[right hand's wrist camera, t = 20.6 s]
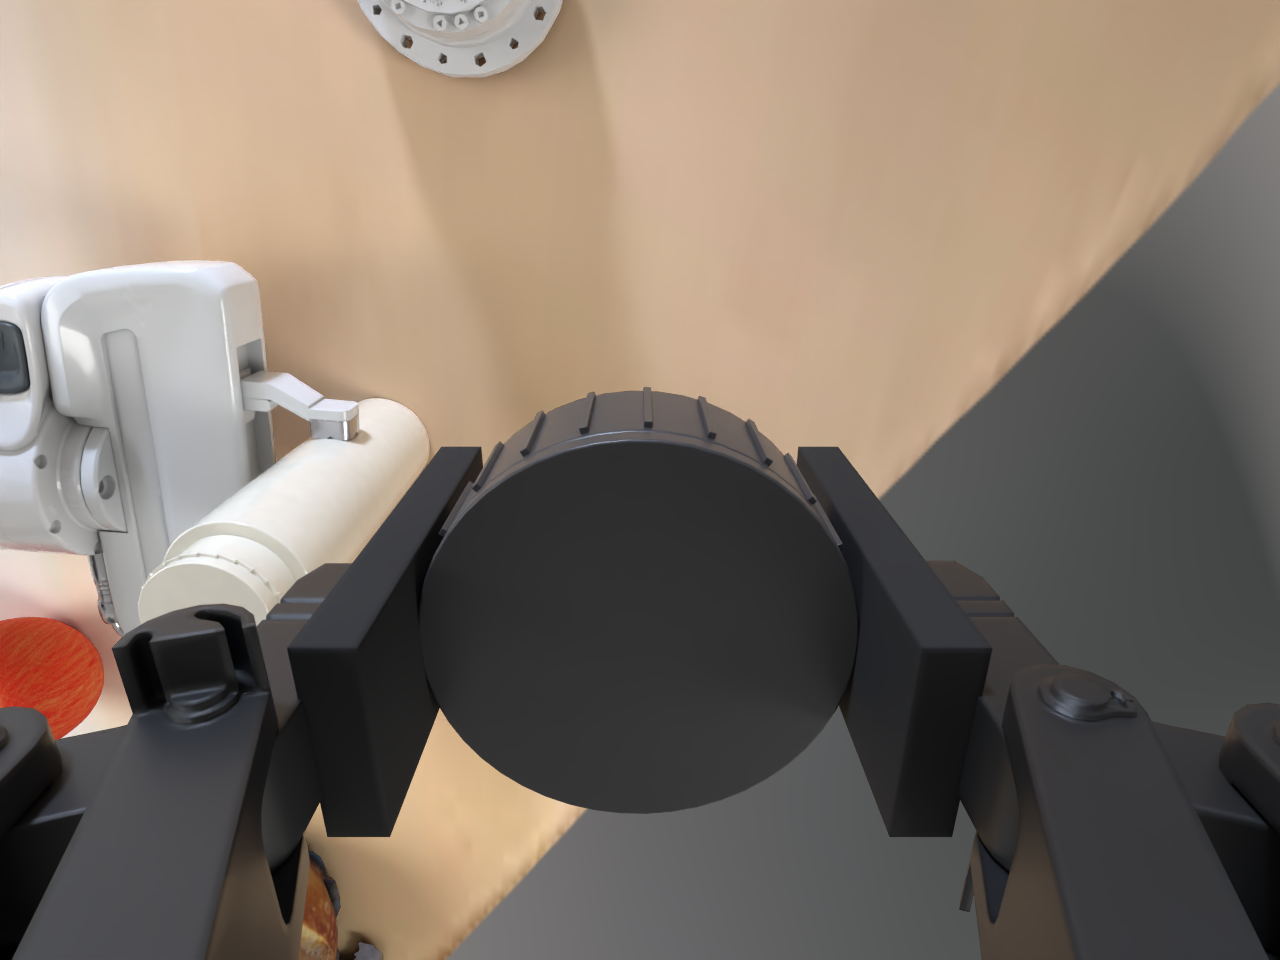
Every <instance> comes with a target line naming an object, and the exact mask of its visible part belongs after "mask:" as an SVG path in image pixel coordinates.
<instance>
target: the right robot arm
mask: <svg viewBox="0 0 1280 960" xmlns="http://www.w3.org/2000/svg"><path fill="white" fill-rule="evenodd" d="M797 467H798V469H799V470H800V472H801V474H802V476H803V477H804V479H805V481H806V483H807V484H808V486H809V488H810V490H811V492H812V493H813V495H815V496H816V498H817V500H818V501H819V503H820V505H821V507H822V508H823V510H824V512H825V514H826V515H827V517H828V519H829V521H830V522H831V524H832V526H833V528H834V529H835V531H836V533H837V535H838V536H839V538H840V540H841V542H842V543H843V546H844V548H845V549H844V550H842V551H841V553H842V555H843V557H844V559H845V561H846V563H847V565H848V568H849V572H850V575H851V578H852V581H853V584H854V588H855V592H856V598H857V605H858V612H859V639H858V646H857V653H856V659H855V665H854V668H853V671H852V674H851V677H850V680H849V683H848V686H847V689H846V691H845V693H844V695H843V697H842V699H841V701H840V703H839V707H840V709H841V712H842V715H843V717H844V720H845V722H846V725H847V728H848V730H849V733H850V735H851V738H852V740H853V743H854V746H855V748H856V751H857V753H858V756H859V759H860V761H861V764H862V766H863V769H864V771H865V774H866V777H867V779H868V782H869V785H870V787H871V790H872V792H873V795H874V797H875V800H876V803H877V805H878V808H879V810H880V813H881V816H882V818H883V821H884V823H885V826H886V829H887V831H888V834H889V836H890V837H952V834H953V830H954V825H955V820H956V816H957V811H958V806H959V802H960V800H961V802H962V804H963V806H964V808H965V809H966V811H967V813H968V815H969V817H970V819H971V821H972V823H973V825H974V827H975V828H976V835H975V839H974V843H973V848H972V852H971V856H970V861H969V865H968V869H967V874H966V878H965V882H964V887H963V891H962V896H961V902H960V910H963V911H967V912H970V908H971V904H972V900H973V896H974V898H975V906H976V915H977V923H978V931H979V940H980V948H981V956H982V960H1280V705H1279V704H1272V703H1261V704H1251V705H1246V706H1244V707H1243V708H1241V709H1240V710H1238V711H1237V712H1235V714H1234V716H1233V719H1232V722H1231V724H1230V727H1229V730H1228V732H1227V735H1226V737H1224V736H1219V735H1214V734H1209V733H1204V732H1199V731H1194V730H1189V729H1184V728H1179V727H1174V726H1169V725H1164V724H1160V723H1156V722H1153V721H1151V719H1150V717H1149V715H1148V713H1147V712H1146V711H1145V710H1144V708H1143V707H1142V706H1141V704H1140V703H1139V702H1138V701H1137V699H1136V698H1135V697H1134V696H1132V695H1131V694H1129V693H1128V692H1127V691H1125V690H1124V689H1122V688H1121V687H1119V686H1118V685H1117V684H1115V683H1113V682H1111V681H1109V680H1107V679H1104V678H1102V677H1100V676H1098V675H1096V674H1093V673H1091V672H1088V671H1085V670H1081V669H1077V668H1073V667H1069V666H1065V665H1060V664H1059V663H1058V662H1057V661H1056V660H1055V659H1054V658H1053V657H1052V655H1051V654H1050V653H1049V652H1048V651H1047V650H1046V649H1045V648H1044V646H1043V645H1042V644H1041V643H1040V642H1039V641H1038V640H1037V638H1036V637H1035V636H1034V635H1033V634H1032V633H1031V632H1030V631H1029V629H1028V628H1027V627H1026V626H1025V625H1024V624H1023V623H1022V621H1021V620H1020V619H1019V618H1018V617H1014V613H1013V611H1012V610H1011V609H1010V608H1009V607H1008V606H1007V604H1006V603H1005V602H1004V601H1000V597H999V595H998V594H997V593H996V592H995V591H994V590H993V589H992V588H991V586H990V585H989V584H988V583H987V582H986V581H985V580H984V579H983V577H981V576H979V575H978V574H976V573H974V572H973V571H971V570H969V569H967V568H966V567H964V566H962V565H961V564H959V563H957V562H956V561H925V559H924V558H923V557H922V556H921V554H920V553H919V552H918V550H917V549H916V548H915V546H914V545H913V544H912V543H911V541H910V540H909V539H908V537H907V536H906V535H905V533H904V532H903V531H902V530H901V528H900V527H899V526H898V524H897V523H896V522H895V521H894V519H893V518H892V517H891V515H890V514H889V513H888V511H887V510H886V509H885V507H884V506H883V505H882V504H881V502H880V501H879V500H878V498H877V497H876V496H875V494H874V493H873V492H872V491H871V489H870V488H869V487H868V485H867V484H866V483H865V481H864V480H863V479H862V478H861V476H860V475H859V474H858V472H857V471H856V470H855V468H854V467H853V466H852V465H851V463H850V462H849V461H848V459H847V458H846V457H845V455H844V454H843V453H842V452H841V450H840V449H839V448H838V447H798V457H797ZM482 469H483V463H482V451H481V447H441V448H440V450H439V451H438V452H437V454H436V455H435V456H434V457H433V459H432V460H431V461H430V463H429V464H428V465H427V467H426V468H425V469H424V470H423V472H422V473H421V474H420V476H419V477H418V478H417V480H416V481H415V482H414V483H413V485H412V486H411V487H410V489H409V490H408V491H407V493H406V494H405V495H404V496H403V498H402V499H401V500H400V502H399V503H398V504H397V506H396V507H395V508H394V509H393V511H392V512H391V513H390V515H389V516H388V517H387V519H386V520H385V521H384V522H383V524H382V525H381V526H380V528H379V529H378V530H377V532H376V533H375V534H374V535H373V537H372V538H371V539H370V541H369V542H368V543H367V545H366V546H365V547H364V548H363V550H362V551H361V552H360V554H359V555H358V556H357V558H356V559H355V560H354V561H353V563H325V564H323V565H322V566H320V567H318V568H317V569H315V570H313V571H311V572H310V573H308V574H306V575H305V576H303V577H301V578H300V579H298V580H297V581H296V582H295V583H294V584H293V585H292V587H291V588H290V589H289V590H288V591H287V592H286V593H285V595H284V596H283V597H282V598H281V599H280V603H277V604H276V605H275V606H274V607H273V608H272V609H271V611H270V612H269V613H268V614H267V615H266V620H262V621H261V622H260V623H259V624H258V625H257V627H256V622H255V618H254V615H253V614H252V613H251V612H249V611H248V610H246V609H245V608H244V607H241V606H235V605H230V604H207V605H197V606H193V607H188V608H184V609H179V610H175V611H172V612H169V613H166V614H164V615H161V616H159V617H156V618H153V619H151V620H148V621H146V622H145V623H143V624H141V625H140V626H138V627H136V628H135V629H133V630H131V631H130V632H128V633H126V634H125V635H124V636H123V637H122V638H121V639H120V640H119V641H118V642H117V643H116V644H115V645H114V647H113V648H112V650H113V654H114V657H115V660H116V663H117V666H118V669H119V672H120V675H121V678H122V681H123V685H124V688H125V691H126V694H127V697H128V700H129V703H130V706H131V709H132V712H133V715H132V717H131V719H130V721H129V723H128V725H125V726H121V727H117V728H112V729H107V730H102V731H97V732H92V733H87V734H82V735H77V736H72V737H67V738H62V739H57V740H55V739H54V737H53V734H52V731H51V729H50V726H49V723H48V721H47V718H46V716H45V715H43V714H42V713H40V712H39V711H37V710H36V709H34V708H26V707H15V706H11V707H5V708H0V960H298V958H299V950H300V942H301V933H302V925H303V917H304V908H305V900H306V892H307V884H308V875H309V867H310V861H309V854H308V848H307V843H306V839H305V835H304V832H305V830H306V828H307V826H308V824H309V822H310V820H311V818H312V816H313V814H314V812H315V810H316V809H317V807H318V805H319V803H320V804H321V809H322V813H323V818H324V823H325V827H326V832H327V837H390V835H391V833H392V830H393V827H394V825H395V822H396V820H397V817H398V815H399V812H400V809H401V807H402V804H403V802H404V799H405V796H406V794H407V791H408V789H409V786H410V783H411V781H412V778H413V776H414V773H415V770H416V768H417V765H418V763H419V760H420V757H421V755H422V752H423V750H424V747H425V744H426V742H427V739H428V737H429V734H430V732H431V729H432V726H433V724H434V721H435V719H436V716H437V713H438V711H439V708H440V707H439V705H438V703H437V702H436V700H435V697H434V695H433V693H432V690H431V688H430V686H429V683H428V681H427V678H426V674H425V668H424V661H423V654H422V646H421V639H420V631H419V621H418V614H419V602H420V598H421V593H422V588H423V584H424V579H425V577H426V574H427V572H428V569H429V566H430V564H431V561H432V558H433V556H434V554H435V552H436V550H437V549H438V547H439V545H440V543H441V542H442V540H443V538H444V537H443V536H441V535H439V533H440V531H441V529H442V527H443V525H444V524H445V522H446V520H447V518H448V517H449V515H450V513H451V512H452V510H453V508H454V506H455V505H456V503H457V501H458V500H459V498H460V496H461V494H462V493H463V491H464V489H465V488H466V486H467V484H468V483H469V481H470V482H472V483H475V481H476V479H477V478H478V476H479V474H480V472H481V470H482Z"/></svg>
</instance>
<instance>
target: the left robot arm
mask: <svg viewBox="0 0 1280 960" xmlns="http://www.w3.org/2000/svg"><path fill="white" fill-rule="evenodd" d="M279 405H280V406H282V407H284V408H285V409H287V410H289V411H291V412H293V413H294V414H296V415H298V416H300V417H302V418H303V419H305V420H307V421H309V422H310V426H311V435H312V438H317V439H327V438H329V437H332V438H333V439H335V440H341V441H343V440H350V439H352V438H354V437H355V434H358V433H360V431H359V404H358V403H357V402H355V401H345V400H334V399H324V396H323V395H321V394H320V393H318V392H317V391H315V390H314V389H312V388H310V387H309V386H307V385H306V384H304V383H303V382H301V381H300V380H298V379H297V378H295V377H294V376H292V375H291V374H289V373H284V372H273V371H267V363H266V352H265V342H264V331H263V321H262V310H261V299H260V289H259V284H258V282H257V280H256V279H255V278H254V277H253V276H251V275H250V274H249V273H248V272H247V271H245V270H244V269H243V268H241V267H240V266H239V265H238V264H236V263H233V262H226V261H209V260H184V261H165V262H154V263H145V264H135V265H126V266H118V267H112V268H106V269H100V270H94V271H87V272H82V273H78V274H74V275H71V276H68V275H66V276H49V277H40V278H34V279H28V280H23V281H18V282H14V283H10V284H6V285H3V286H0V549H7V550H20V551H34V552H46V553H60V554H73V555H87V556H88V561H89V565H90V570H91V574H92V578H93V581H94V583H95V586H96V588H97V593H98V598H99V599H98V609H99V613H100V615H101V618H102V620H103V621H104V623H106V624H112V626H113V628H114V629H115V630H116V632H117V633H118V634H119V635H120V636H121V637H123V636H124V635H125V634H126V633H128V632H130V631H131V630H133V629H135V628H136V627H138V626H140V625H141V623H140V621H139V614H138V604H137V603H138V602H139V597H140V590H141V587H142V586H143V585H144V583H145V581H146V579H147V577H148V576H149V574H150V573H151V572H153V571H154V570H155V569H156V568H157V567H159V566H160V565H161V564H162V563H163V561H164V557H165V554H166V552H167V550H168V548H169V547H170V545H171V544H172V542H173V541H174V540H175V539H176V538H177V537H178V536H179V535H180V534H182V533H183V532H184V531H186V530H187V529H188V528H190V527H191V526H192V525H194V524H195V523H196V522H198V521H199V520H200V519H202V518H203V517H204V516H206V515H207V514H208V513H210V512H211V511H212V510H213V509H215V508H216V507H217V506H219V505H220V504H221V503H223V502H224V501H225V500H227V499H228V498H229V497H231V496H232V495H233V494H235V493H236V492H237V491H239V490H240V489H241V488H243V487H244V486H245V485H247V484H248V483H249V482H251V481H252V480H253V479H255V478H256V477H257V476H259V475H260V474H261V473H263V472H264V471H265V470H267V469H268V468H269V467H271V466H272V465H273V464H275V463H276V456H275V446H274V436H273V425H272V415H271V410H272V409H274V408H275V407H277V406H279Z"/></svg>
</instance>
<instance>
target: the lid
mask: <svg viewBox="0 0 1280 960" xmlns="http://www.w3.org/2000/svg"><path fill="white" fill-rule="evenodd" d="M439 535H441V536H443V537H444V538H443V540H442V542H441V543H440V545H439V547H438V549H437V550H436V552H435V554H434V556H433V558H432V561H431V564H430V566H429V569H428V572H427V574H426V577H425V579H424V584H423V588H422V593H421V598H420V602H419V614H418V621H419V631H420V639H421V646H422V654H423V661H424V668H425V674H426V678H427V681H428V683H429V686H430V688H431V690H432V693H433V695H434V697H435V700H436V702H437V703H438V705H439V707H440V708H441V710H442V712H443V713H444V715H445V717H446V718H447V720H448V722H449V723H450V724H451V726H452V727H453V728H454V729H455V731H456V732H457V733H458V734H459V736H460V737H461V738H462V739H463V741H464V742H465V743H466V744H467V745H469V746H470V747H471V748H472V749H473V750H474V751H475V752H476V753H477V754H478V755H479V756H480V757H481V758H482V759H483V760H485V761H486V762H487V763H489V764H490V765H491V766H493V767H494V768H495V769H496V770H498V771H499V772H500V773H502V774H504V775H505V776H507V777H509V778H510V779H512V780H514V781H515V782H517V783H519V784H520V785H522V786H524V787H526V788H528V789H531V790H533V791H535V792H537V793H539V794H541V795H544V796H546V797H549V798H552V799H555V800H558V801H561V802H564V803H567V804H570V805H574V806H579V807H583V808H588V809H592V810H598V811H607V812H615V813H636V814H648V813H662V812H673V811H678V810H684V809H689V808H695V807H699V806H703V805H706V804H710V803H713V802H717V801H720V800H723V799H725V798H728V797H731V796H733V795H735V794H738V793H740V792H743V791H745V790H747V789H749V788H751V787H753V786H755V785H756V784H758V783H760V782H762V781H764V780H766V779H768V778H769V777H770V776H772V775H773V774H775V773H776V772H778V771H779V770H781V769H782V768H783V767H785V766H786V765H788V764H789V763H790V762H791V761H792V760H794V759H795V758H796V757H797V756H798V755H799V754H800V753H801V752H803V751H804V750H805V749H806V748H807V747H808V746H809V745H810V744H811V742H812V741H813V740H814V739H815V738H816V737H817V736H818V735H819V733H820V732H821V731H822V730H823V729H824V727H825V726H826V724H827V723H828V721H829V720H830V718H831V717H832V715H833V714H834V712H835V711H836V709H837V707H838V705H839V703H840V701H841V699H842V697H843V695H844V693H845V691H846V689H847V686H848V683H849V680H850V677H851V674H852V671H853V668H854V665H855V659H856V653H857V646H858V639H859V612H858V605H857V598H856V592H855V588H854V584H853V581H852V578H851V575H850V572H849V568H848V565H847V563H846V561H845V559H844V557H843V555H842V553H841V551H842V550H844V549H845V548H844V546H843V543H842V542H841V540H840V538H839V536H838V535H837V533H836V531H835V529H834V528H833V526H832V524H831V522H830V521H829V519H828V517H827V515H826V514H825V512H824V510H823V508H822V507H821V505H820V503H819V501H818V500H817V498H816V496H815V495H813V493H812V492H811V490H810V488H809V486H808V484H807V483H806V481H805V479H804V477H803V476H802V474H801V472H800V470H799V469H798V467H797V465H796V463H795V462H794V460H793V458H792V457H791V455H790V454H789V453H787V454H786V455H783V454H782V453H781V452H780V450H779V449H778V448H777V447H776V446H775V445H774V444H773V443H772V442H771V441H770V440H769V439H768V438H766V437H765V436H764V435H763V434H761V433H760V432H759V431H758V429H757V427H756V425H755V423H754V422H753V421H752V420H750V419H748V420H747V422H745V421H743V420H742V419H740V418H738V417H737V416H735V415H733V414H732V413H730V412H728V411H725V410H723V409H721V408H718V407H716V406H714V405H712V404H709V403H707V401H706V398H704V397H701V396H699V398H698V400H697V399H693V398H690V397H686V396H683V395H676V394H670V393H663V392H657V391H651V388H650V387H644V390H643V391H624V392H614V393H605V394H601V395H595V392H591V393H588V395H587V398H583V399H579V400H577V401H574V402H571V403H569V404H566V405H563V406H561V407H558V408H556V409H554V410H552V411H550V412H548V413H546V414H545V413H544V412H543V411H541V412H539V413H537V415H536V417H535V419H534V420H533V421H532V422H531V423H529V424H528V425H526V426H525V427H524V428H522V429H521V430H520V431H518V432H517V433H515V434H514V435H513V436H512V437H511V438H510V439H509V440H508V441H507V442H506V443H505V444H504V445H503V444H502V443H501V442H499V443H498V444H497V445H496V446H495V447H494V449H493V451H492V453H491V455H490V456H489V458H488V460H487V462H486V463H485V465H484V467H483V469H482V470H481V472H480V474H479V476H478V478H477V479H476V481H475V483H472V482H470V481H469V483H468V484H467V486H466V488H465V489H464V491H463V493H462V494H461V496H460V498H459V500H458V501H457V503H456V505H455V506H454V508H453V510H452V512H451V513H450V515H449V517H448V518H447V520H446V522H445V524H444V525H443V527H442V529H441V531H440V533H439Z"/></svg>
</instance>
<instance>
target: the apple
mask: <svg viewBox="0 0 1280 960" xmlns="http://www.w3.org/2000/svg"><path fill="white" fill-rule="evenodd" d="M103 683H104V671H103V665H102V661H101V657H100V654H99V653H98V651H97V649H96V648H95V647H94V645H93V644H92V643H91V642H90V641H89V640H88V638H87V637H86V636H84V635H83V634H82V633H81V632H79V631H78V630H76V629H74V628H72V627H70V626H68V625H66V624H64V623H62V622H59V621H57V620H53V619H48V618H39V617H23V618H14V619H7V620H3V621H0V708H5V707H11V706H15V707H26V708H34V709H36V710H37V711H39V712H40V713H42V714H43V715H45V716H46V718H47V721H48V723H49V726H50V729H51V731H52V734H53V737H54V739H55V740H57V739H60V738H62V737H63V736H65V735H66V734H68V733H69V732H70V731H72V730H73V729H74V728H75V727H76V726H78V725H79V724H80V723H81V722H82V721H83V720H84V719H85V718H86V717H87V716H88V715H89V714H90V712H91V711H92V709H93V708H94V706H95V705H96V703H97V701H98V699H99V697H100V695H101V692H102V688H103Z"/></svg>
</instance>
